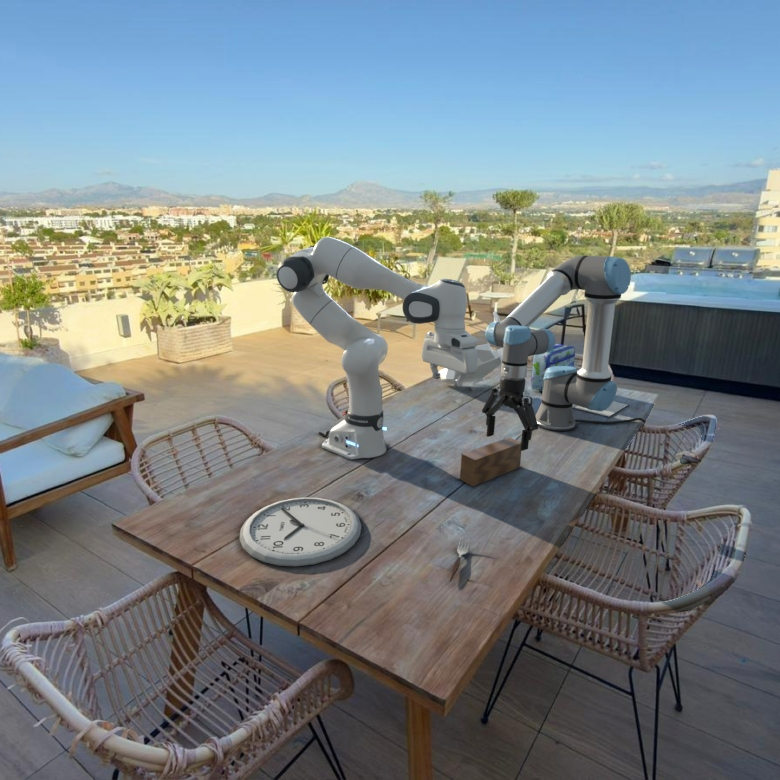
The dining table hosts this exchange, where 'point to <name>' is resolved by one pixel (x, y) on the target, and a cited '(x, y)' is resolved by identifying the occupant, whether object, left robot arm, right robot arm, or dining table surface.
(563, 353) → the lunch box
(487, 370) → the white plastic object
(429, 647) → the dining table surface
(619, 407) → the invitation card
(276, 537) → the wall clock
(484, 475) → the bar
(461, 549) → the fork
